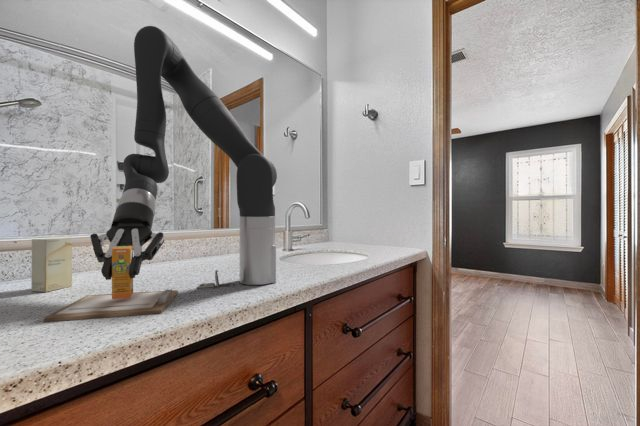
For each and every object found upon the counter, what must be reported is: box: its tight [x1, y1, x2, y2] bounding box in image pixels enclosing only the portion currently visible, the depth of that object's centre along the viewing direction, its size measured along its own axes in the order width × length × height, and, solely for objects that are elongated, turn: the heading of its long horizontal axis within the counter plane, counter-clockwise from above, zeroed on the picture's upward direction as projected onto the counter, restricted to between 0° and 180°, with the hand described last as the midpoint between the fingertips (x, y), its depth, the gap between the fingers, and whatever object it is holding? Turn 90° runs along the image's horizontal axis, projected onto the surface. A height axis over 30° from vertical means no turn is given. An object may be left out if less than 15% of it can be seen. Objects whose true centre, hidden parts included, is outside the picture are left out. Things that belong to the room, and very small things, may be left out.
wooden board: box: [43, 289, 179, 323], centre depth 59 cm, size 18×14×2 cm
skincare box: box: [31, 237, 73, 293], centre depth 71 cm, size 6×4×12 cm
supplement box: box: [111, 246, 134, 299], centre depth 59 cm, size 3×3×10 cm
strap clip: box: [197, 269, 235, 290], centre depth 74 cm, size 8×3×4 cm, turn 107°
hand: (119, 276), depth 57 cm, fingers closed on supplement box, 3 cm apart
